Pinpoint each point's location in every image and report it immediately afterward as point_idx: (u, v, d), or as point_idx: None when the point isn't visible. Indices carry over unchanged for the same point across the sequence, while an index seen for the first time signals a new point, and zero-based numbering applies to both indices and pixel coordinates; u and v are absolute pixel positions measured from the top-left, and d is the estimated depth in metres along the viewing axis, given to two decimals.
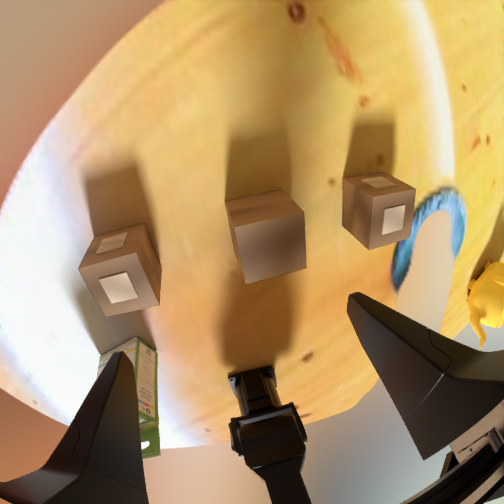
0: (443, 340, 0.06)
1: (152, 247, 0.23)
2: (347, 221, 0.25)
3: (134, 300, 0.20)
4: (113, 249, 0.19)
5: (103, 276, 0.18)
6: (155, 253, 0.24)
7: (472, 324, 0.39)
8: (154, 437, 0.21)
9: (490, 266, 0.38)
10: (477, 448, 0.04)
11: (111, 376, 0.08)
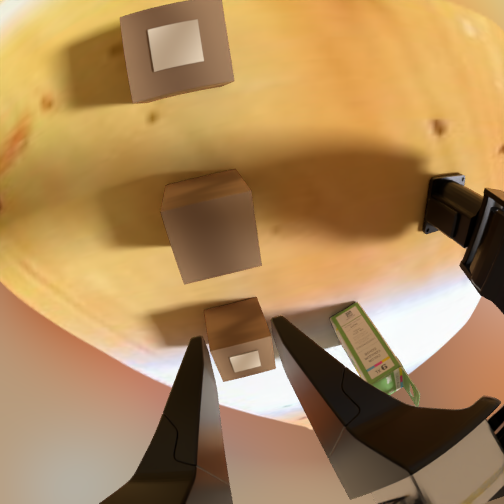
0: (358, 384, 0.06)
1: (229, 305, 0.25)
2: None
3: (261, 352, 0.22)
4: None
5: (232, 369, 0.23)
6: None
7: None
8: (409, 378, 0.20)
9: None
10: None
11: (198, 362, 0.08)
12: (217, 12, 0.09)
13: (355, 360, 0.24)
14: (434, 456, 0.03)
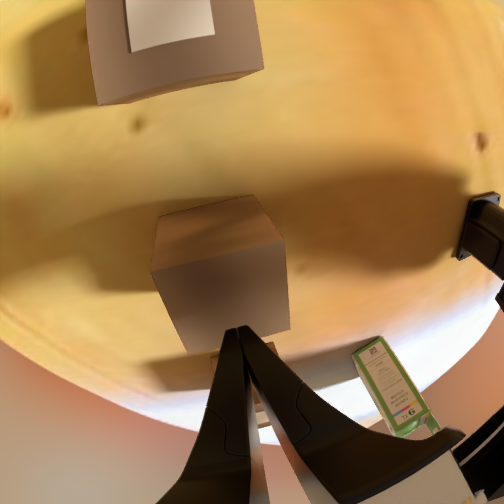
0: (314, 402, 0.06)
1: None
2: (218, 81, 0.10)
3: None
4: None
5: None
6: None
7: None
8: (436, 422, 0.16)
9: None
10: None
11: (236, 353, 0.08)
12: None
13: (380, 404, 0.19)
14: (372, 492, 0.03)
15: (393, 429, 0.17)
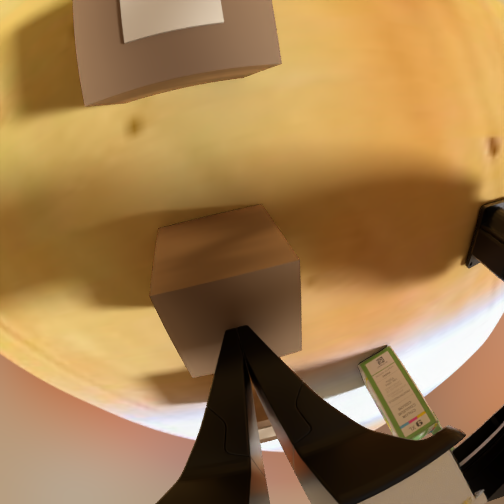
0: (314, 402, 0.06)
1: None
2: (224, 78, 0.09)
3: None
4: None
5: None
6: None
7: None
8: None
9: None
10: None
11: (236, 353, 0.08)
12: None
13: (387, 416, 0.18)
14: (372, 492, 0.03)
15: None
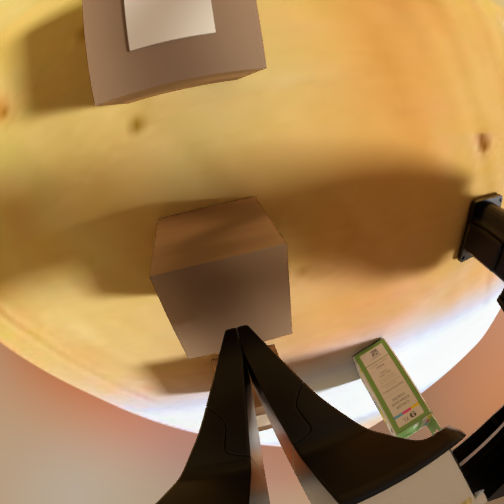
0: (314, 402, 0.06)
1: None
2: (218, 81, 0.10)
3: None
4: None
5: None
6: None
7: None
8: (438, 425, 0.15)
9: None
10: None
11: (236, 353, 0.08)
12: None
13: (381, 406, 0.19)
14: (372, 492, 0.03)
15: (394, 431, 0.17)
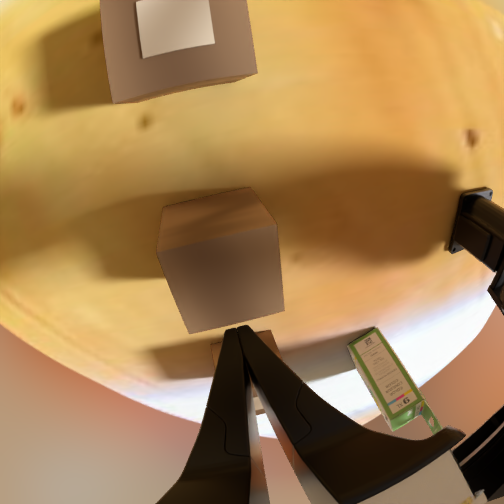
0: (314, 402, 0.06)
1: None
2: (217, 83, 0.11)
3: None
4: None
5: None
6: None
7: None
8: (431, 412, 0.17)
9: None
10: None
11: (236, 353, 0.08)
12: None
13: (375, 393, 0.20)
14: (372, 492, 0.03)
15: (388, 417, 0.18)
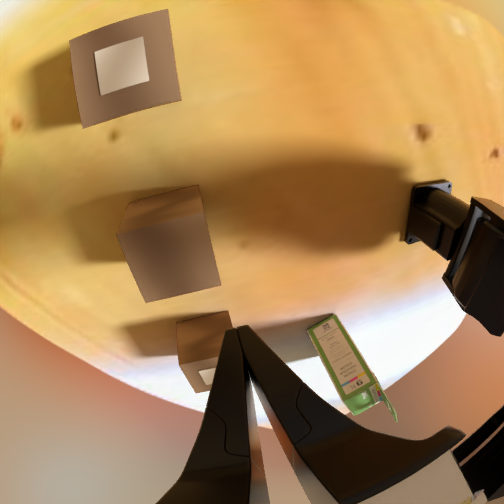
0: (314, 402, 0.06)
1: (200, 319, 0.24)
2: (166, 103, 0.14)
3: None
4: None
5: (202, 382, 0.22)
6: (209, 315, 0.25)
7: None
8: (385, 395, 0.20)
9: None
10: None
11: (236, 353, 0.08)
12: (163, 27, 0.09)
13: (330, 374, 0.24)
14: (372, 492, 0.03)
15: (341, 398, 0.21)
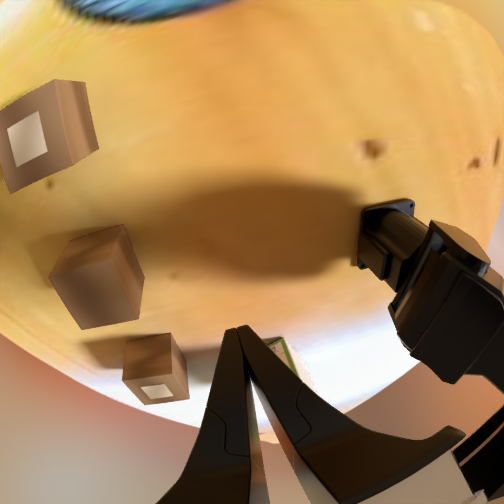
0: (314, 402, 0.06)
1: (146, 339, 0.25)
2: None
3: (168, 385, 0.22)
4: None
5: (147, 396, 0.23)
6: (154, 336, 0.25)
7: None
8: None
9: None
10: None
11: (236, 353, 0.08)
12: (52, 98, 0.09)
13: None
14: (372, 492, 0.03)
15: None
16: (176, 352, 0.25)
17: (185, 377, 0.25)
